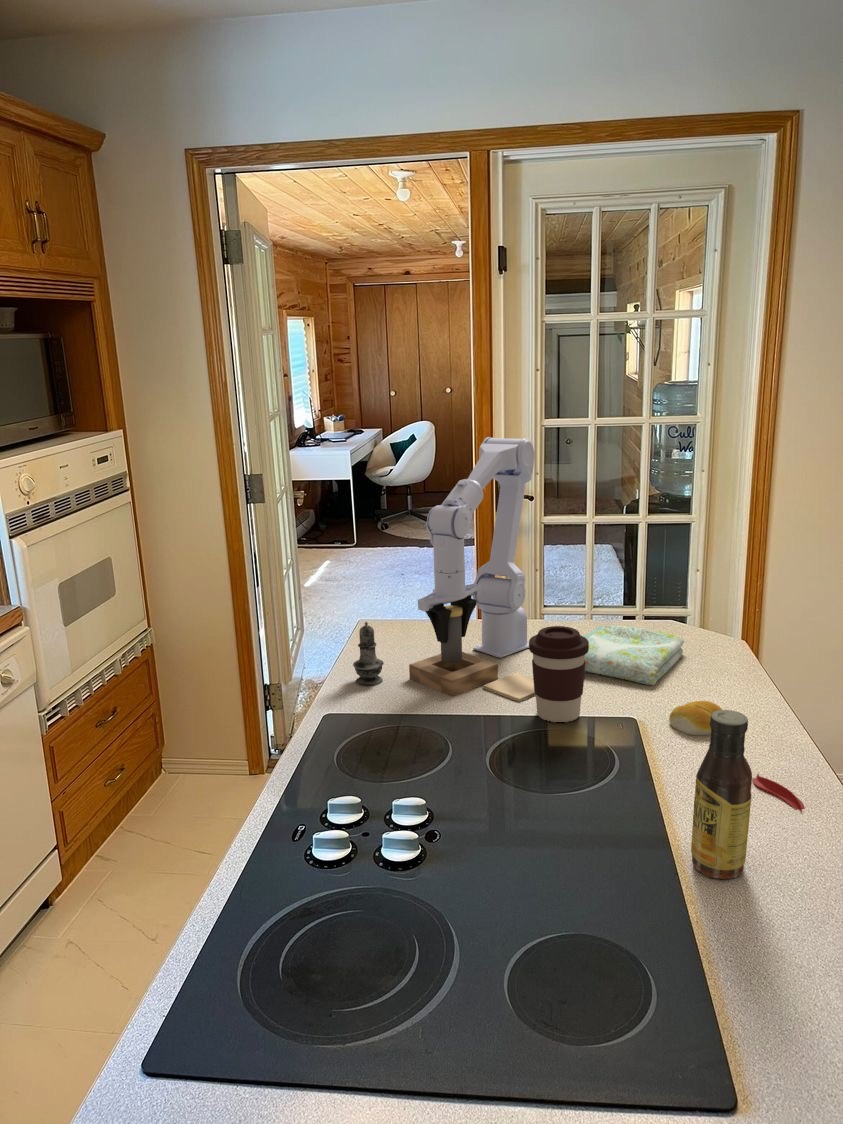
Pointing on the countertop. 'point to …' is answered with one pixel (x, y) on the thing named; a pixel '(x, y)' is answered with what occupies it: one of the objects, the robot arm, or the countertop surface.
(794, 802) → the cayenne pepper
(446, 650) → the plug
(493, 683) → the coaster
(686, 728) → the bread roll
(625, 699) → the countertop surface
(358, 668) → the salt shaker
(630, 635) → the towel
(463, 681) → the wooden square frame
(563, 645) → the coffee cup
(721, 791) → the sauce bottle
